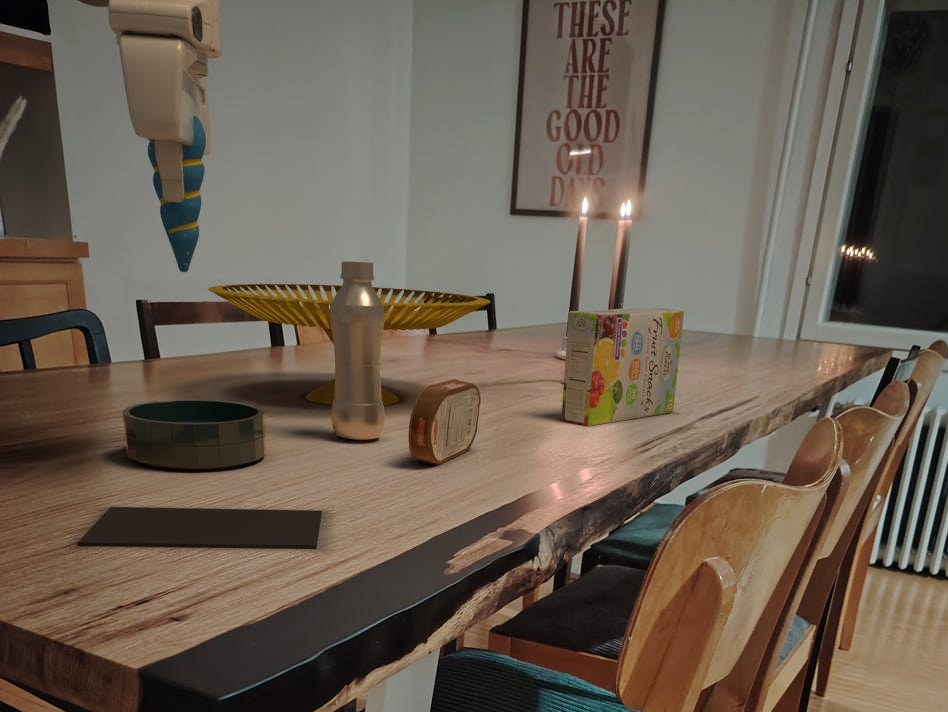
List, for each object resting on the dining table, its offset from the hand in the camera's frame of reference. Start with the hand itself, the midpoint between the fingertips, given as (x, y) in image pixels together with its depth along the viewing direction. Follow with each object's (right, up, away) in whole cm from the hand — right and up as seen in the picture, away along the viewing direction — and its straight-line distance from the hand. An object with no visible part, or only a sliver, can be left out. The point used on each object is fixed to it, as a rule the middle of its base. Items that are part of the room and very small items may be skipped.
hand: (180, 203), depth 86 cm
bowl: (-2, -21, +13) cm, 25 cm away
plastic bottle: (+13, -16, +26) cm, 34 cm away
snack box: (+48, -8, +50) cm, 70 cm away
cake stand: (+9, -4, +54) cm, 54 cm away
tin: (+24, -20, +20) cm, 37 cm away
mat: (+5, -32, -10) cm, 34 cm away
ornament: (0, -6, +3) cm, 6 cm away
